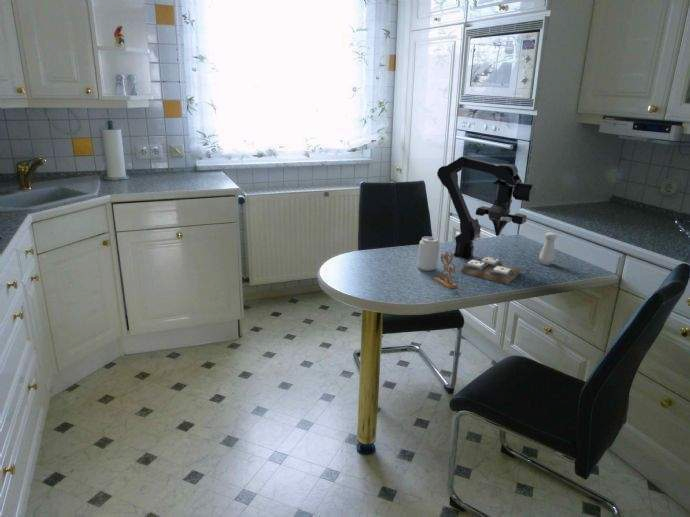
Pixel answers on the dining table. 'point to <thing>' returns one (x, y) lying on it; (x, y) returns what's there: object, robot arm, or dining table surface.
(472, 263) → the tile three
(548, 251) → the salt shaker
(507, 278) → the board
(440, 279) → the figurine on base
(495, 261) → the tile two
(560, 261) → the dining table surface
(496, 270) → the tile one
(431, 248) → the can
